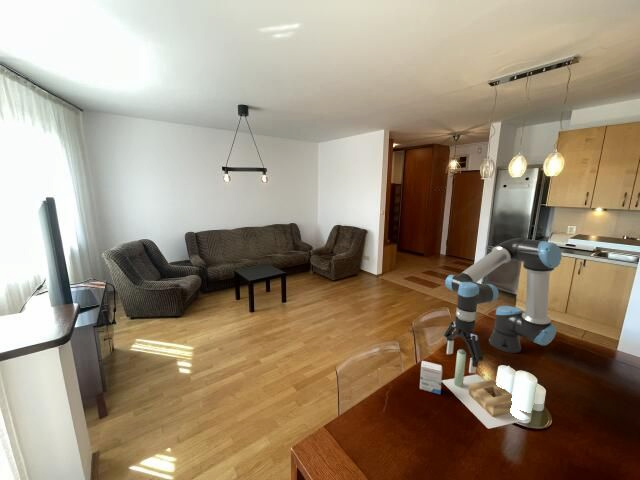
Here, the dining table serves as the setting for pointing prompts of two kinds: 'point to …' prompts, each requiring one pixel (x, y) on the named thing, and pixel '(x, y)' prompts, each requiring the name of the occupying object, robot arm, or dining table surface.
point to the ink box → (431, 377)
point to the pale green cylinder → (460, 368)
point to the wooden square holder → (491, 397)
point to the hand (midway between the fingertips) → (460, 362)
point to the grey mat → (473, 406)
